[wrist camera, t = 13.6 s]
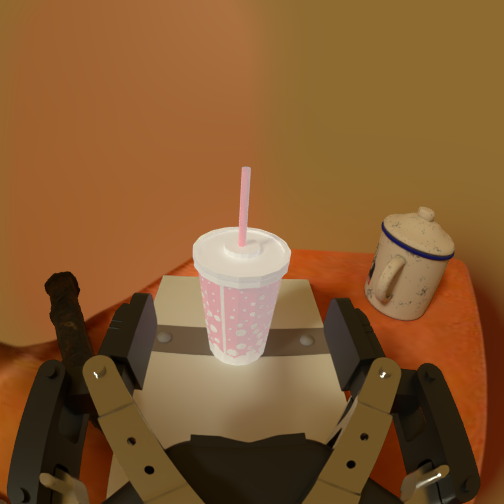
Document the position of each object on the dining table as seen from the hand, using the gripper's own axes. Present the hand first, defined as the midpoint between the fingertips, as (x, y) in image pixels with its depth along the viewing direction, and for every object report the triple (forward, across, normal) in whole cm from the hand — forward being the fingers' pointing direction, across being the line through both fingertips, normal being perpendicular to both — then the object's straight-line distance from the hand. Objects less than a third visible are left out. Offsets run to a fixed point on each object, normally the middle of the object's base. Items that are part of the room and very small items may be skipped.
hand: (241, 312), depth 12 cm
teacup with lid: (+12, -18, +11) cm, 24 cm away
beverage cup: (+6, 0, +9) cm, 11 cm away
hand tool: (+4, +13, +11) cm, 18 cm away
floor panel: (+3, 0, +10) cm, 11 cm away
